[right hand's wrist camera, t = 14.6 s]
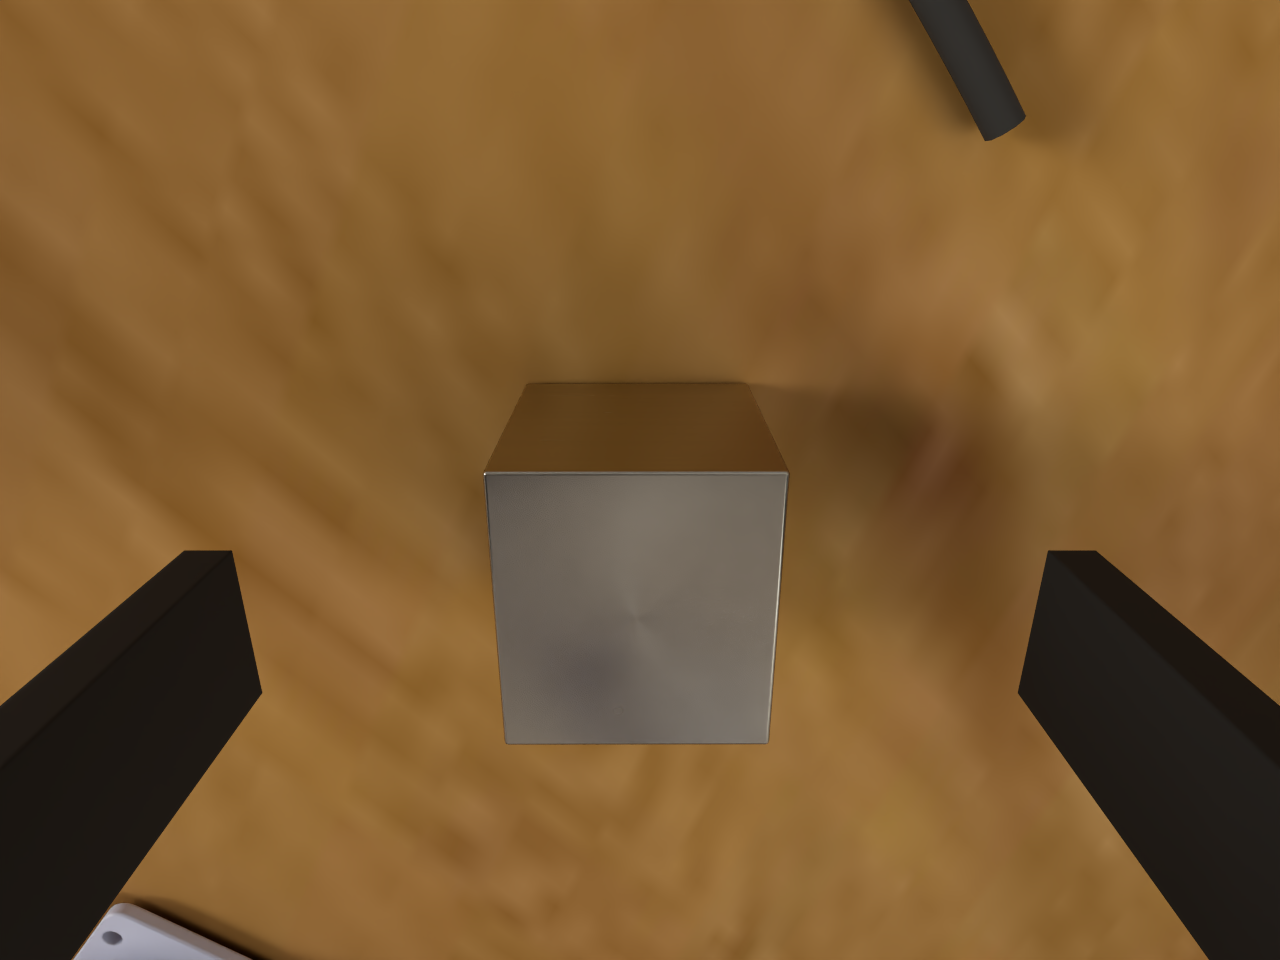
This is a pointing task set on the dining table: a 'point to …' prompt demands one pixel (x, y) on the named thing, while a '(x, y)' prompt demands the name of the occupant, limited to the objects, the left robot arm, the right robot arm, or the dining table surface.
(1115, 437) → the dining table surface
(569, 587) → the block
